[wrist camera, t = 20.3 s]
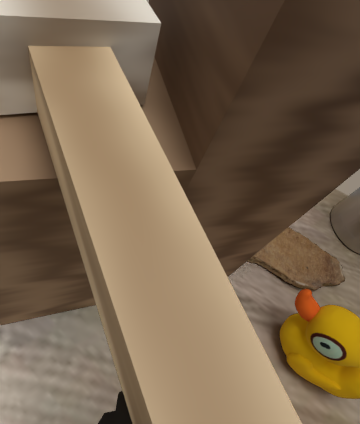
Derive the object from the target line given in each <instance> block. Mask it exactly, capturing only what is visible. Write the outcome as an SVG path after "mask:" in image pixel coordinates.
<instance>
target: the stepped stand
mask: <svg viewBox="0 0 360 424" xmlns="http://www.w3.org/2000/svg"><path fill="white" fill-rule="evenodd" d="M149 5H150V7H151V8H152V10H153V11H154V13H155V14H156V16H157V17H158V19H159V20H160V22H161V27H160V32H159V37H158V42H157V46H156V51H155V56H154V61H153V66H152V70H151V75H150V80H149V85H148V90H147V94H146V99H145V104H144V105H140V106H141V108H142V110H143V112H144V114H145V116H146V118H147V120H148V122H149V124H150V126H151V128H152V130H153V132H154V134H155V136H156V138H157V140H158V142H159V143H160V145H161V147H162V149H163V151H164V153H165V155H166V157H167V159H168V161H169V163H170V165H171V167H172V169H173V171H174V173H175V175H176V177H177V179H178V181H179V183H180V185H181V187H182V189H183V191H184V193H185V195H186V197H187V199H188V201H189V202H190V204H191V206H192V208H193V210H194V212H195V214H196V216H197V218H198V220H199V222H200V224H201V226H202V228H203V230H204V232H205V234H206V236H207V238H208V240H209V242H210V244H211V246H212V248H213V250H214V252H215V254H216V256H217V258H218V260H219V261H220V263H221V265H222V267H223V269H224V271H225V273H226V275H227V276H229V275H230V274H232V273H233V272H234V271H235V270H236V269H238V268H239V267H240V266H241V265H243V264H244V263H245V262H246V261H247V260H249V259H250V258H251V257H252V256H254V255H255V254H256V253H257V252H258V251H260V250H261V249H262V248H263V247H265V246H266V245H267V244H268V243H269V242H271V241H272V240H273V239H274V238H276V237H277V236H278V235H279V234H280V233H282V232H283V231H284V230H285V229H287V228H288V227H289V226H290V225H291V224H293V223H294V222H295V221H296V220H298V219H299V218H300V217H301V216H302V215H304V214H305V213H306V212H307V211H309V210H310V209H311V208H312V207H313V206H315V205H316V204H317V203H318V202H320V201H321V200H322V199H323V198H324V197H326V196H327V195H328V194H329V193H331V192H332V191H333V190H334V189H335V188H337V187H338V186H339V185H340V184H342V183H343V182H344V181H345V180H346V179H348V178H349V177H350V176H351V175H353V174H354V173H355V172H356V171H357V170H359V169H360V0H149ZM93 305H96V303H95V299H94V296H93V293H92V290H91V286H90V283H89V280H88V276H87V273H86V270H85V267H84V263H83V260H82V257H81V254H80V250H79V247H78V244H77V240H76V237H75V234H74V231H73V227H72V224H71V221H70V217H69V214H68V211H67V208H66V204H65V201H64V198H63V195H62V191H61V188H60V185H59V181H58V178H57V175H56V172H55V168H54V165H53V162H52V159H51V155H50V152H49V149H48V145H47V142H46V139H45V136H44V132H43V129H42V126H41V123H40V119H39V116H38V113H37V112H36V113H22V114H8V115H0V325H4V324H9V323H14V322H18V321H23V320H27V319H32V318H37V317H41V316H46V315H51V314H55V313H60V312H65V311H69V310H74V309H79V308H83V307H88V306H93Z"/></svg>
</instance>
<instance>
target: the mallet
mask: <svg viewBox="0 0 360 424" xmlns="http://www.w3.org/2000/svg"><path fill="white" fill-rule="evenodd" d="M160 27H161V22H160V20H159V19H158V17H157V16H156V14H155V13H154V11H153V10H152V8H151V7H150V5H149V4H148V2H147V1H146V0H0V115H8V114H22V113H36V112H37V113H38V116H39V119H40V123H41V126H42V129H43V132H44V136H45V139H46V142H47V145H48V149H49V152H50V155H51V159H52V162H53V165H54V168H55V172H56V175H57V178H58V181H59V185H60V188H61V191H62V195H63V198H64V201H65V204H66V208H67V211H68V214H69V217H70V221H71V224H72V227H73V231H74V234H75V237H76V240H77V244H78V247H79V250H80V254H81V257H82V260H83V263H84V267H85V270H86V273H87V276H88V280H89V283H90V286H91V290H92V293H93V296H94V299H95V303H96V306H97V309H98V312H99V316H100V319H101V322H102V326H103V329H104V332H105V335H106V339H107V342H108V345H109V348H110V352H111V355H112V358H113V362H114V365H115V368H116V371H117V375H118V378H119V381H120V384H121V388H122V391H123V394H124V398H125V401H126V404H127V407H128V411H129V414H130V417H131V420H132V424H302V423H301V421H300V419H299V417H298V415H297V413H296V411H295V409H294V407H293V405H292V403H291V401H290V399H289V397H288V395H287V393H286V391H285V389H284V387H283V385H282V383H281V381H280V379H279V377H278V376H277V374H276V372H275V370H274V368H273V366H272V364H271V362H270V360H269V358H268V356H267V354H266V352H265V350H264V348H263V346H262V344H261V342H260V340H259V338H258V336H257V334H256V332H255V330H254V328H253V326H252V324H251V322H250V320H249V319H248V317H247V315H246V313H245V311H244V309H243V307H242V305H241V303H240V301H239V299H238V297H237V295H236V293H235V291H234V289H233V287H232V285H231V283H230V281H229V279H228V277H227V275H226V273H225V271H224V269H223V267H222V265H221V263H220V261H219V260H218V258H217V256H216V254H215V252H214V250H213V248H212V246H211V244H210V242H209V240H208V238H207V236H206V234H205V232H204V230H203V228H202V226H201V224H200V222H199V220H198V218H197V216H196V214H195V212H194V210H193V208H192V206H191V204H190V202H189V201H188V199H187V197H186V195H185V193H184V191H183V189H182V187H181V185H180V183H179V181H178V179H177V177H176V175H175V173H174V171H173V169H172V167H171V165H170V163H169V161H168V159H167V157H166V155H165V153H164V151H163V149H162V147H161V145H160V143H159V142H158V140H157V138H156V136H155V134H154V132H153V130H152V128H151V126H150V124H149V122H148V120H147V118H146V116H145V114H144V112H143V110H142V108H141V106H140V105H144V104H145V99H146V94H147V90H148V85H149V80H150V75H151V70H152V66H153V61H154V56H155V51H156V46H157V42H158V37H159V32H160Z"/></svg>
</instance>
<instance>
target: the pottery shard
mask: <svg viewBox="0 0 360 424" xmlns="http://www.w3.org/2000/svg"><path fill="white" fill-rule="evenodd" d="M247 261H248V262H250V263H257V264H258V265H261V266H262V267H264V268H266V269H268V270H269V271H271V272H272V273H273V274H275V275H276V276H279V277H281V278H282V279H283V280H284V281H285V282H288V283H290V284H293V285H294V286H296V287H299V288H306V289H313V290H316V289H318V288H321V286H327V285H330V286H334V285H339V284H340V283H341V282H344V281H345V277H344V276H343V273H342V265H340V263H339V261H338V260H337V259H336V258H335V257H333V256H331V255H329V254H328V253H327V252H326V251H323V250H322V249H321V248H319V247H318V246H317V245H316V244H314V243H312V242H311V241H310V240H309V239H308V238H306V237H304V236H302V235H301V234H300V233H298V232H295V231H294V230H292V229H291V228H289V227H288V228H287V229H285V230H284V231H283V232H282V233H280V234H279V235H278V236H277V237H276V238H274V239H273V240H272V241H271V242H269V243H268V244H267V245H266V246H265V247H263V248H262V249H261V250H260V251H258V252H257V253H256V254H255V255H254V256H252V257H251V258H250V259H249V260H247Z"/></svg>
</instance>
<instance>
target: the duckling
mask: <svg viewBox="0 0 360 424" xmlns="http://www.w3.org/2000/svg"><path fill="white" fill-rule="evenodd" d="M295 306H296V309H297V311H298V313H297V314H293V315H291V316H289V317H288V318H287V319H286V320H285V322H284V323H283V325H282V327H281V329H280V340H281V345H282V348H283V351H284V353H285V354H286V356H287V362H288V364H289V365H290V367H291V368H292V369H293V370H294V371H295V372H296V373H297V374H298V375H300V376H301V377H303V378H304V379H306V380H307V381H309V382H311V383H313V384H315V385H317V386H319V387H321V388H322V389H324V390H325V391H327V392H329V393H330V394H332V395H334V396H337V397H341V398H351V399H360V318H359V317H358V316H356V315H355V314H354V313H352V312H351V311H349V310H347V309H345V308H343V307H340V306H336V305H326V306H323V307H321V308H320V307H319V305H318V303H317V302H316V301H315V300H314V298H313V297H312V292H311V290H309V289H303V290H301V291H300V292H299V293H298V295H297V297H296V300H295Z"/></svg>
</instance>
